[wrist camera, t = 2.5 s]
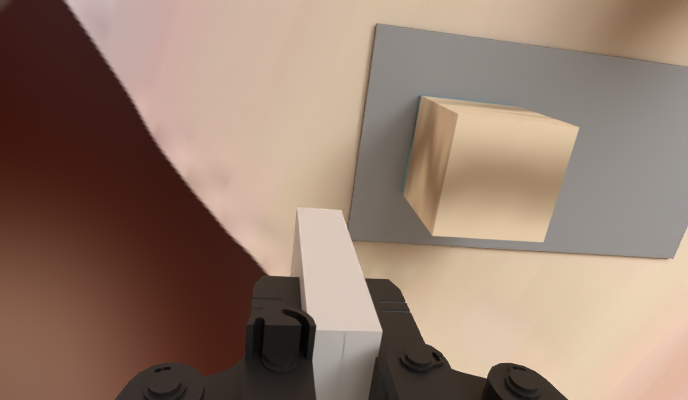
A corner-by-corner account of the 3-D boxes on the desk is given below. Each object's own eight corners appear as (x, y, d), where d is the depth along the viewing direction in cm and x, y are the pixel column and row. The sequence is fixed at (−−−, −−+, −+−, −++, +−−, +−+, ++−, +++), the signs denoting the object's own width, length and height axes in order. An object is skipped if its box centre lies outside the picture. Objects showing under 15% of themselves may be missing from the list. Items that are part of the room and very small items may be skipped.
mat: (376, 23, 28) (377, 23, 27) (748, 75, 32) (752, 75, 32) (346, 238, 33) (347, 240, 33) (670, 256, 37) (673, 258, 37)
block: (419, 94, 29) (458, 114, 23) (516, 105, 30) (579, 127, 24) (401, 193, 32) (432, 235, 25) (492, 200, 33) (543, 242, 26)
